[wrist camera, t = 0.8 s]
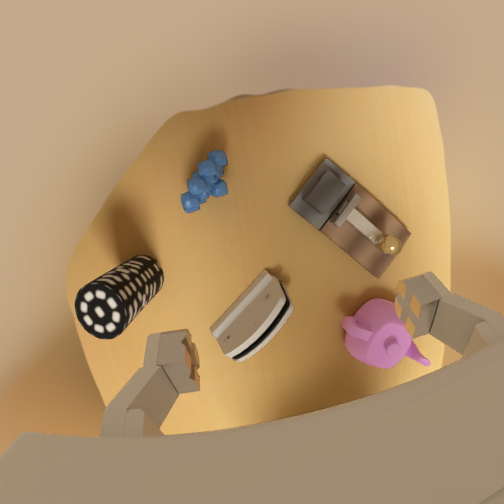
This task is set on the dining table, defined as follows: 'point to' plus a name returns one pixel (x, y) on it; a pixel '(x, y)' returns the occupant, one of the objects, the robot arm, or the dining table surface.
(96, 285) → the white-spotted black cylinder
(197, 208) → the grapes
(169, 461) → the robot arm
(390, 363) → the teapot
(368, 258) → the door board
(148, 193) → the dining table surface
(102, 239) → the dining table surface
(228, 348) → the light grey rounded piece
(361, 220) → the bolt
